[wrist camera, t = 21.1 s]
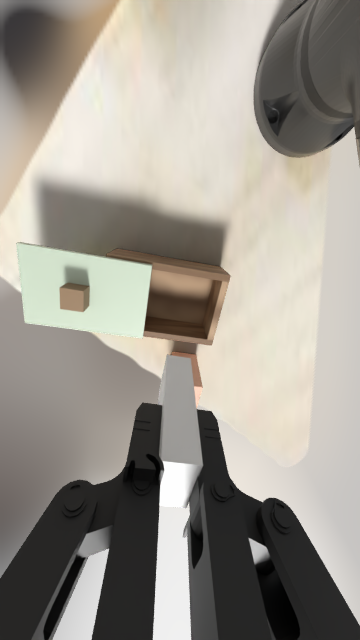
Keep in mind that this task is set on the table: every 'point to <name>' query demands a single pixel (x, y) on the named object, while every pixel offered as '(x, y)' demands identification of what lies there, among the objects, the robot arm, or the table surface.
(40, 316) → the lid
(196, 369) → the key block
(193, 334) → the wooden box
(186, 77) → the table surface
